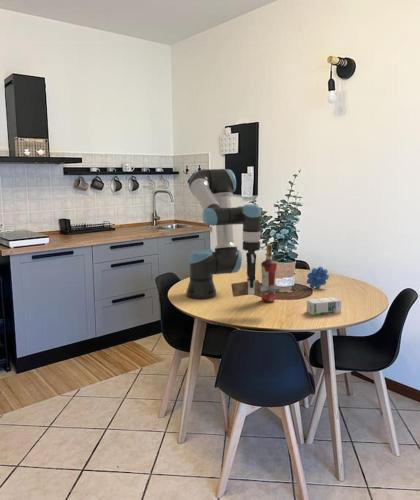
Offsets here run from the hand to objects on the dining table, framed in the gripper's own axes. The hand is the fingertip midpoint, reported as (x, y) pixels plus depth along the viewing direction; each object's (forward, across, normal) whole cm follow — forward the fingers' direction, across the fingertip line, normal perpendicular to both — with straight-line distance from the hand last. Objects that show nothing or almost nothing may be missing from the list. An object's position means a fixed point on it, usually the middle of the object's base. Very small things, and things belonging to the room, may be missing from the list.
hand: (250, 292), depth 195 cm
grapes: (+11, +42, -40) cm, 59 cm away
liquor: (+10, +19, -11) cm, 24 cm away
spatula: (0, 0, -2) cm, 2 cm away
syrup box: (+7, 0, -26) cm, 27 cm away
